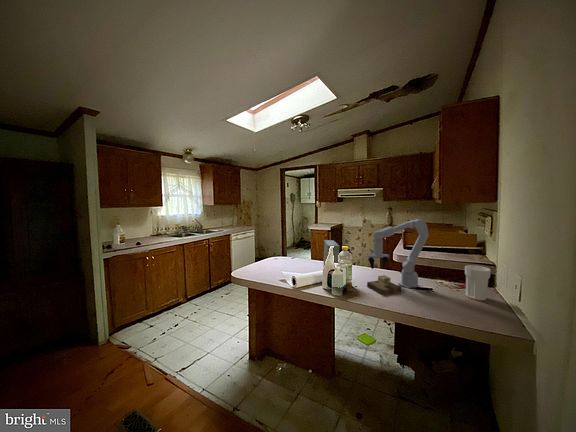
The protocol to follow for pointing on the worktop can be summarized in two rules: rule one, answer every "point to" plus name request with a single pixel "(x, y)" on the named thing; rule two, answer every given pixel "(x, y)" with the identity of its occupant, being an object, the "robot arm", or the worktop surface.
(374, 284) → the walnut base
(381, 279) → the birch cube
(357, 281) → the worktop surface
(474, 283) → the cup
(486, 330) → the worktop surface
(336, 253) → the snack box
